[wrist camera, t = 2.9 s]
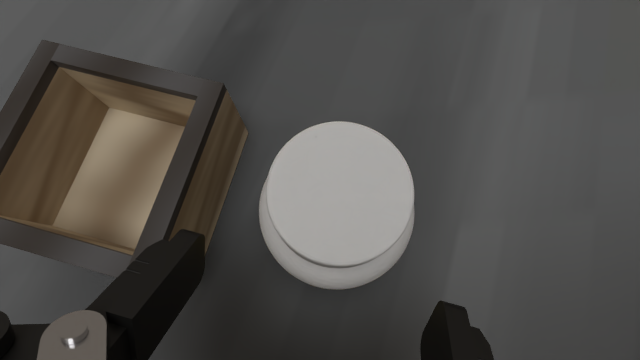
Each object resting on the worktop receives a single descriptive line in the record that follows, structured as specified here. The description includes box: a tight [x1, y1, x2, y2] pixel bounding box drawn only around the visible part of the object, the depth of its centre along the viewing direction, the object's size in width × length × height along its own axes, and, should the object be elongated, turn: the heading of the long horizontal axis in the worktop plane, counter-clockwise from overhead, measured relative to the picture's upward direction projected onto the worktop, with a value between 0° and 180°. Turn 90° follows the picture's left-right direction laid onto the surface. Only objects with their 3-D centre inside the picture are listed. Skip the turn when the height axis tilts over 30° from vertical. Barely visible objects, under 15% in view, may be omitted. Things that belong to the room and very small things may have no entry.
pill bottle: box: [259, 121, 414, 289], centre depth 16 cm, size 6×6×11 cm
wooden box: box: [0, 40, 248, 278], centre depth 19 cm, size 10×10×6 cm
